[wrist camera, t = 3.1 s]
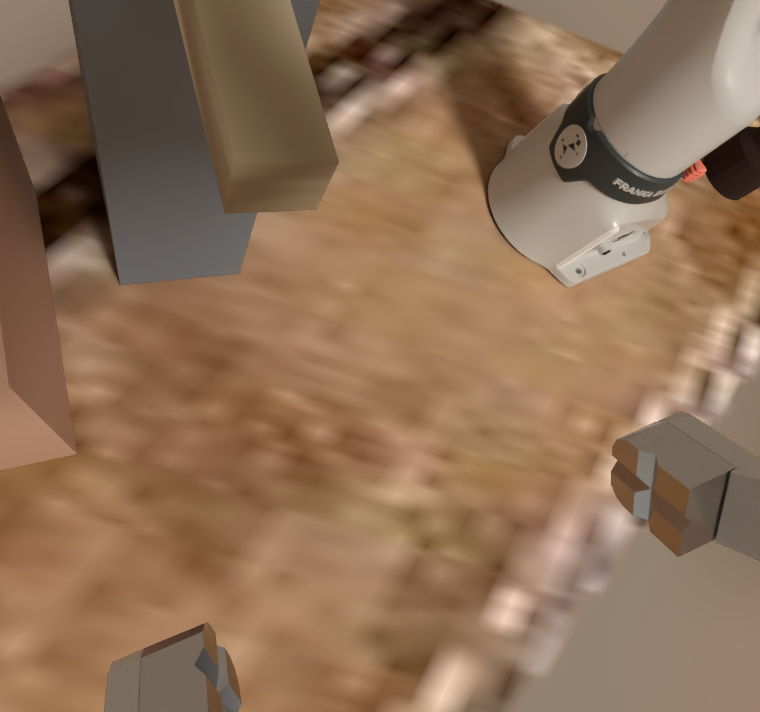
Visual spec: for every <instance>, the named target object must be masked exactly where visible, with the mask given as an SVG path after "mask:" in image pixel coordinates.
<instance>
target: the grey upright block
mask: <svg viewBox="0 0 760 712" xmlns="http://www.w3.org/2000/svg"><path fill="white" fill-rule="evenodd" d="M290 1H291V4H292V8H293V11H294V14H295V18H296V21H297V24H298V28H299V31H300V34H301V38H302V41H303V45H304V48H305V49H306V46H307V43H308V39H309V36H310V32H311V29H312V26H313V22H314V19H315V16H316V12H317V9H318V5H319V2H320V0H290ZM69 5H70V11H71V16H72V23H73V28H74V34H75V40H76V46H77V52H78V58H79V63H80V69H81V75H82V81H83V87H84V92H85V98H86V104H87V110H88V116H89V122H90V127H91V133H92V138H93V143H94V149H95V154H96V159H97V165H98V170H99V175H100V181H101V186H102V191H103V197H104V202H105V207H106V213H107V218H108V223H109V229H110V234H111V239H112V245H113V250H114V255H115V261H116V266H117V271H118V277H119V282H120V285H126V284H136V283H146V282H157V281H167V280H177V279H188V278H198V277H208V276H219V275H229V274H239V272H240V268H241V265H242V262H243V258H244V255H245V252H246V248H247V245H248V241H249V238H250V235H251V231H252V228H253V225H254V221H255V218H256V214H257V212H254V213H233V214H225V213H224V208H223V204H222V200H221V196H220V192H219V188H218V184H217V179H216V175H215V171H214V167H213V163H212V159H211V155H210V150H209V146H208V142H207V138H206V134H205V130H204V125H203V121H202V117H201V113H200V109H199V105H198V101H197V96H196V92H195V88H194V84H193V80H192V76H191V72H190V67H189V63H188V59H187V55H186V51H185V47H184V42H183V38H182V34H181V30H180V26H179V22H178V18H177V13H176V9H175V5H174V1H173V0H69Z"/></svg>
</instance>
